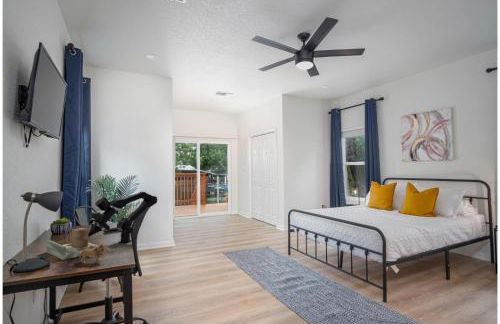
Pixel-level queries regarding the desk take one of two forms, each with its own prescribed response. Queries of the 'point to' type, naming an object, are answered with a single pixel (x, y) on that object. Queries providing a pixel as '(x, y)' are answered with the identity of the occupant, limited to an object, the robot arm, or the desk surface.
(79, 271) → the desk surface
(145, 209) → the robot arm
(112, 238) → the desk surface
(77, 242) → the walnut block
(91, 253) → the lion figurine
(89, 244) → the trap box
